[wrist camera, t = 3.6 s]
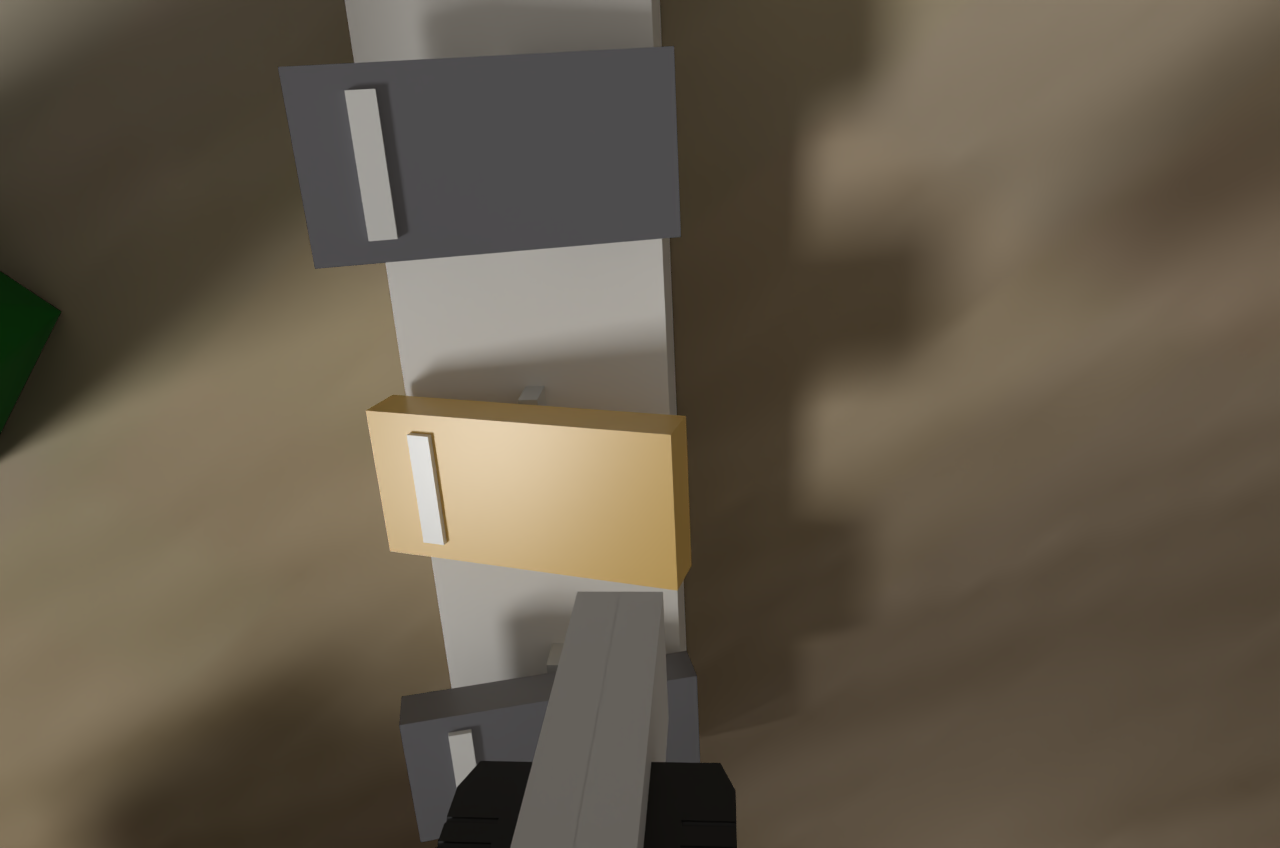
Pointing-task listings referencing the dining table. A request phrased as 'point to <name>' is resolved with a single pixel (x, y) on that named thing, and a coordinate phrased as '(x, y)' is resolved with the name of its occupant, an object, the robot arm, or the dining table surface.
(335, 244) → the plate
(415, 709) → the block
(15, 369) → the milk carton
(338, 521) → the dining table surface
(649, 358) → the rocker switch panel
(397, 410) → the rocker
